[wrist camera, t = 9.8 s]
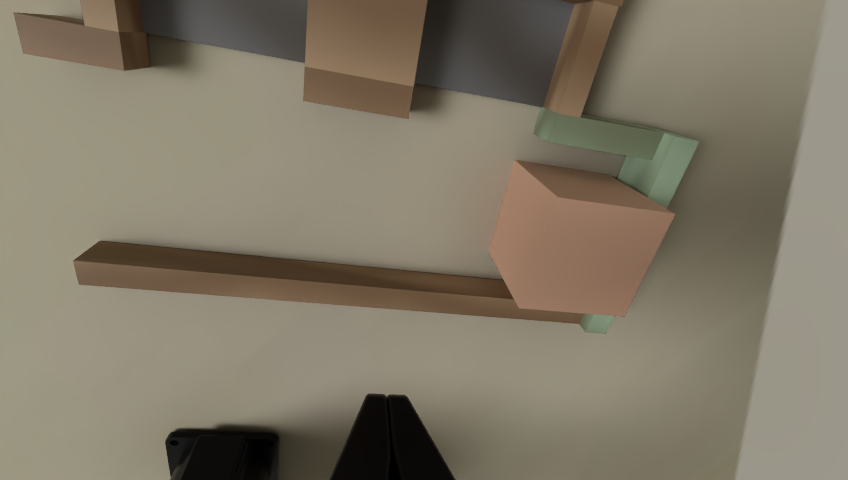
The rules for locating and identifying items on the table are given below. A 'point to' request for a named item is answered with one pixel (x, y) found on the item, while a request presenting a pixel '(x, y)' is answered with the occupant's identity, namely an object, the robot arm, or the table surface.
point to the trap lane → (378, 93)
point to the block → (575, 239)
